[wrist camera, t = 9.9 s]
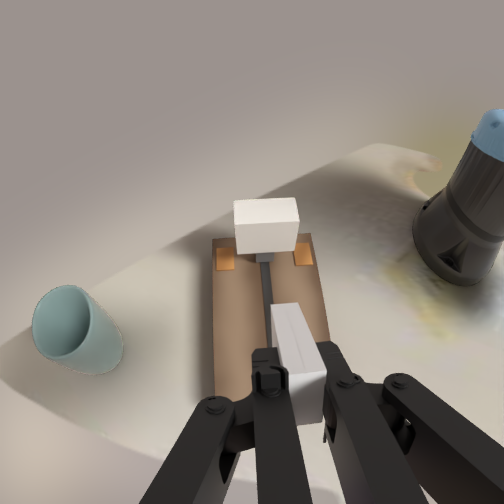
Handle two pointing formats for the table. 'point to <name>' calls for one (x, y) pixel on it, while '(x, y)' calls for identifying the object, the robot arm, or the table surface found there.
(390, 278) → the table surface
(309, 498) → the robot arm
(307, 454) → the table surface
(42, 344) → the cup
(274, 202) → the fader knob
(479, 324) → the table surface
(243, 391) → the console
